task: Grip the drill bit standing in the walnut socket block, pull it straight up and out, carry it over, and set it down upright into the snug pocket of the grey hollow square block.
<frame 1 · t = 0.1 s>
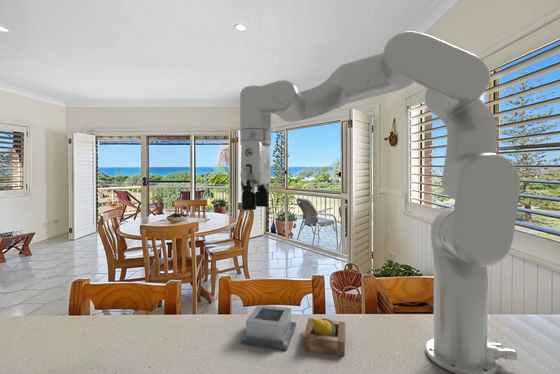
hand: (255, 208, 70), 31 cm above the countertop, fingers open, 9 cm apart
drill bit: (322, 343, 66), on the countertop, touching socket block
grey hollow square block: (269, 334, 69), on the countertop
socket block: (325, 341, 66), on the countertop
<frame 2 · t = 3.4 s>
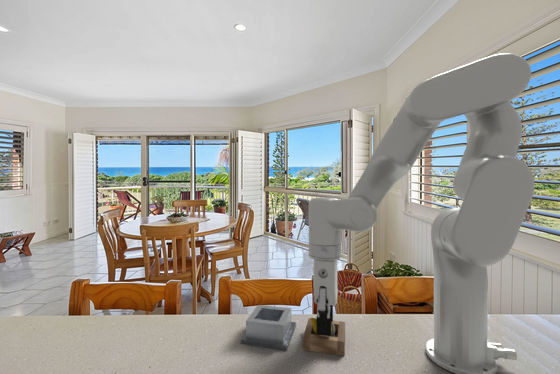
hand: (325, 326, 66), 4 cm above the countertop, fingers closed on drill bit, 5 cm apart
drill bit: (323, 343, 66), on the countertop, touching gripper, socket block
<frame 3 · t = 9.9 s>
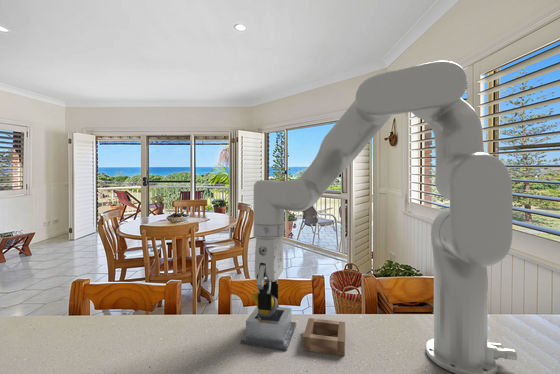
hand: (268, 303, 69), 8 cm above the countertop, fingers closed on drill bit, 5 cm apart
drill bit: (266, 317, 69), point 4 cm above the countertop, touching gripper, grey hollow square block
when the fingers open (7 cm above the countertop, at t = 11.0 s): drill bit drops 4 cm, resting on grey hollow square block.
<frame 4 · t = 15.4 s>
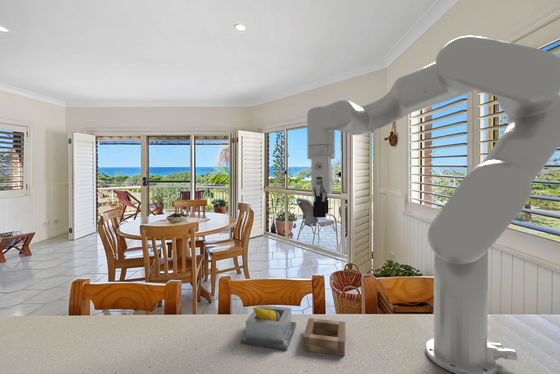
hand: (321, 215, 78), 28 cm above the countertop, fingers open, 9 cm apart
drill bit: (267, 332, 69), point 1 cm above the countertop, touching grey hollow square block
at the end: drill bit 0.7 cm off-centre on the grey hollow square block, point 0.8 cm above the grey hollow square block's base; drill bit tilted 0°; the gripper is holding nothing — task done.
